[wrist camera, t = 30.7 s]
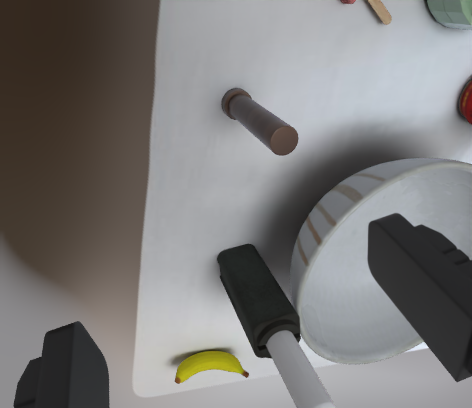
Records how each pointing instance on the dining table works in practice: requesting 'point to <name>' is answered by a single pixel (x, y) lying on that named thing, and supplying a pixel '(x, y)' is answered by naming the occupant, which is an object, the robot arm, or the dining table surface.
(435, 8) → the pet bowl
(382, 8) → the popsicle
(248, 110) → the brown flanged cylinder
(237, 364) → the fruit
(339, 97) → the dining table surface
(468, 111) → the soda can
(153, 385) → the dining table surface
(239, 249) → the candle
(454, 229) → the dishware bowl
